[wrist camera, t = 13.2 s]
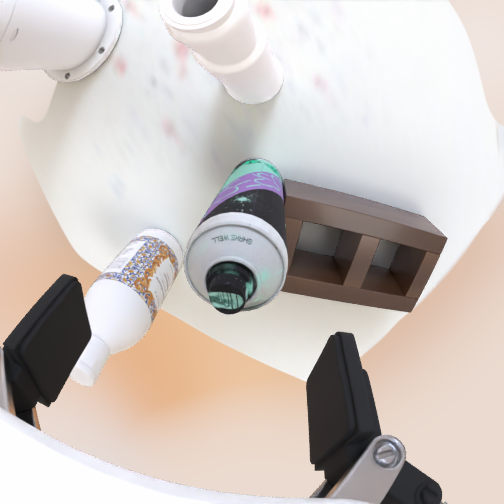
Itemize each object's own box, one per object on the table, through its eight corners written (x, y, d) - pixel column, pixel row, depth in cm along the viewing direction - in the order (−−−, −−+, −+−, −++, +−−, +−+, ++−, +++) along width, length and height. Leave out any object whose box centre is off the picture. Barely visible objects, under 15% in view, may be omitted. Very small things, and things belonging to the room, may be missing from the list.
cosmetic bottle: (264, 114, 27) (234, 127, 7) (212, 87, 26) (73, 58, 6) (294, 66, 24) (342, -30, 5) (241, 39, 23) (168, -82, 4)
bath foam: (187, 276, 36) (129, 410, 19) (139, 274, 37) (65, 390, 19) (181, 226, 33) (97, 354, 16) (129, 226, 34) (29, 335, 16)
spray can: (292, 188, 30) (313, 313, 13) (251, 216, 32) (221, 357, 14) (261, 147, 28) (236, 217, 11) (220, 177, 30) (143, 285, 13)
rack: (284, 178, 30) (286, 195, 24) (424, 216, 30) (448, 238, 25) (265, 258, 34) (263, 287, 29) (395, 284, 35) (410, 312, 29)
